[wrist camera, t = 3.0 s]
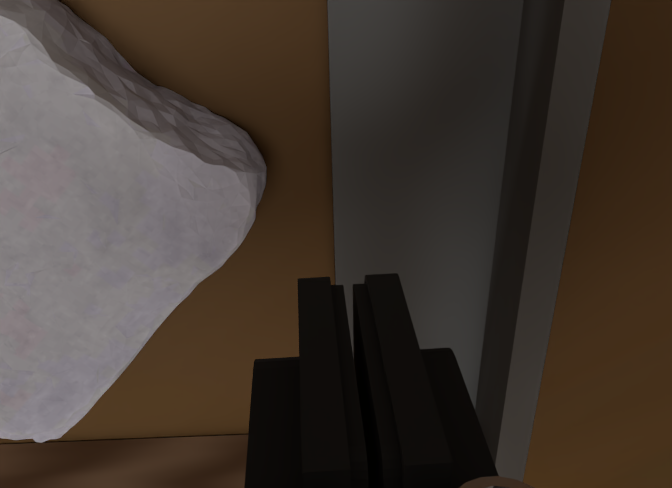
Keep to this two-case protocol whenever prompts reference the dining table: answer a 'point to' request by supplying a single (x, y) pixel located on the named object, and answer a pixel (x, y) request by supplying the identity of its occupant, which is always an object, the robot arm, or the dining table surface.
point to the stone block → (99, 212)
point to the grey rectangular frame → (424, 211)
